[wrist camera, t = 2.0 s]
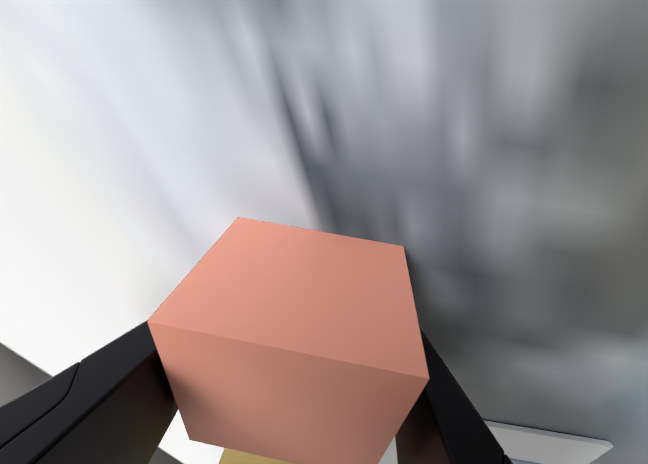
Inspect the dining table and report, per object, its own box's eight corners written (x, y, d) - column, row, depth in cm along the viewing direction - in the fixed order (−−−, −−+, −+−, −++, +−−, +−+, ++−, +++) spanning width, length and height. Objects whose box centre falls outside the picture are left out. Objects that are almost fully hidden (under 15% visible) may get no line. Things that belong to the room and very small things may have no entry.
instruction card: (609, 441, 11) (614, 448, 11) (535, 495, 15) (538, 502, 15) (393, 405, 12) (393, 411, 12) (373, 464, 16) (373, 470, 16)
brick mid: (402, 244, 8) (429, 378, 4) (368, 347, 11) (368, 480, 7) (238, 215, 8) (147, 321, 5) (245, 323, 11) (189, 439, 7)
